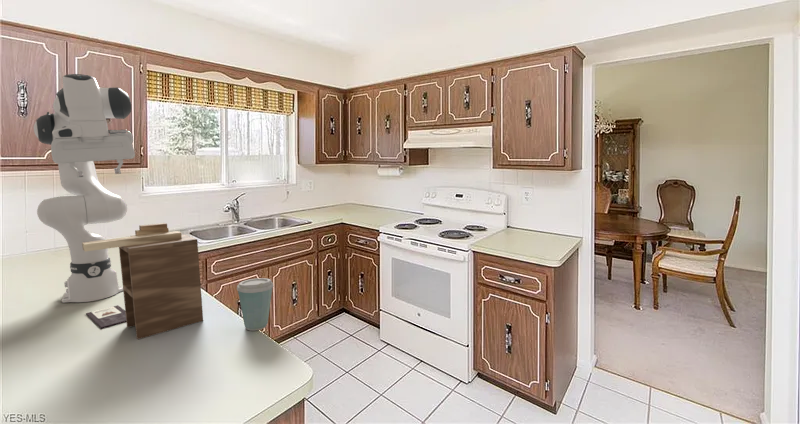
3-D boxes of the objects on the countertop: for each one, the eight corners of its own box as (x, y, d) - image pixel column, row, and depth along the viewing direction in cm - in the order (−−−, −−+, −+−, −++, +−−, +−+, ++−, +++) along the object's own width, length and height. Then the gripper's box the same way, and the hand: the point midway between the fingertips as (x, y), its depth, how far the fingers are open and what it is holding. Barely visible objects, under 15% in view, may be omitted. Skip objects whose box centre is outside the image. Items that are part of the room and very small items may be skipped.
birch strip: (82, 249, 106) (82, 242, 105) (178, 237, 123) (177, 231, 123) (84, 251, 103) (84, 244, 103) (181, 238, 121) (181, 232, 120)
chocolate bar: (101, 327, 117) (86, 313, 128) (101, 330, 117) (86, 315, 128) (135, 318, 124) (117, 305, 135) (135, 320, 124) (118, 307, 135)
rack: (126, 326, 119) (116, 227, 115) (189, 310, 132) (182, 220, 128) (137, 339, 110) (127, 232, 106) (203, 320, 123) (196, 224, 119)
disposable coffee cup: (233, 326, 119) (230, 280, 117) (266, 316, 126) (264, 273, 124) (247, 337, 111) (244, 288, 109) (281, 326, 119) (279, 280, 117)
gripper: (130, 128, 124) (137, 170, 128) (46, 131, 111) (57, 177, 115) (132, 129, 120) (140, 173, 123) (45, 132, 107) (57, 180, 110)
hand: (99, 175), depth 119 cm, fingers open, 8 cm apart
